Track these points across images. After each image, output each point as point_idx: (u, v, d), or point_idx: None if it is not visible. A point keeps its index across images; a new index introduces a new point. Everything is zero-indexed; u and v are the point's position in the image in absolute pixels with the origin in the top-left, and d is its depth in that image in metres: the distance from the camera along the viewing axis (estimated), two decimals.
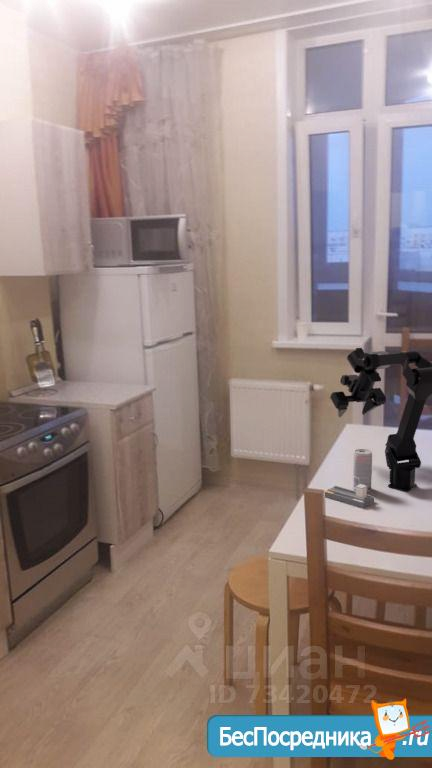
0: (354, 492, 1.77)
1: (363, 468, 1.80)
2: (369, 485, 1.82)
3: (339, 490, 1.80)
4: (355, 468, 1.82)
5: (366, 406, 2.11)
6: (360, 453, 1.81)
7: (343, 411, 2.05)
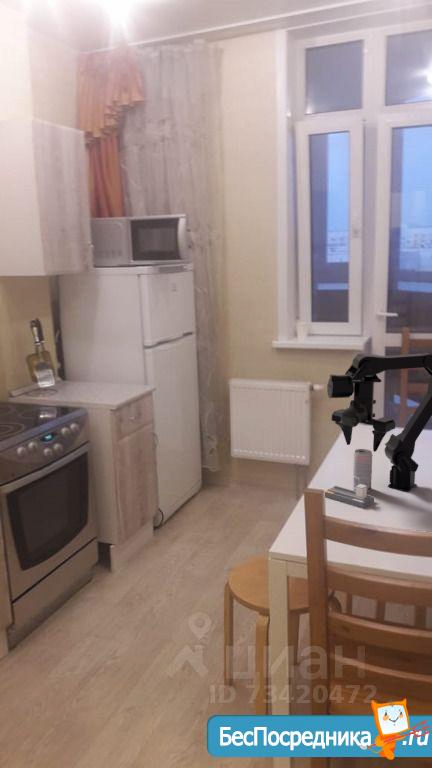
0: (354, 492, 1.77)
1: (363, 468, 1.80)
2: (369, 485, 1.82)
3: (339, 490, 1.80)
4: (355, 468, 1.82)
5: (348, 432, 1.85)
6: (360, 453, 1.81)
7: None
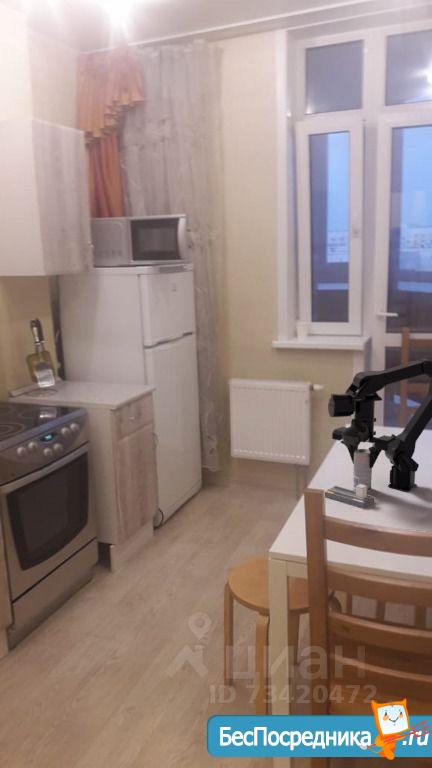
0: (354, 492, 1.77)
1: (363, 467, 1.80)
2: (369, 485, 1.82)
3: (339, 490, 1.80)
4: (355, 468, 1.82)
5: None
6: (360, 453, 1.81)
7: None
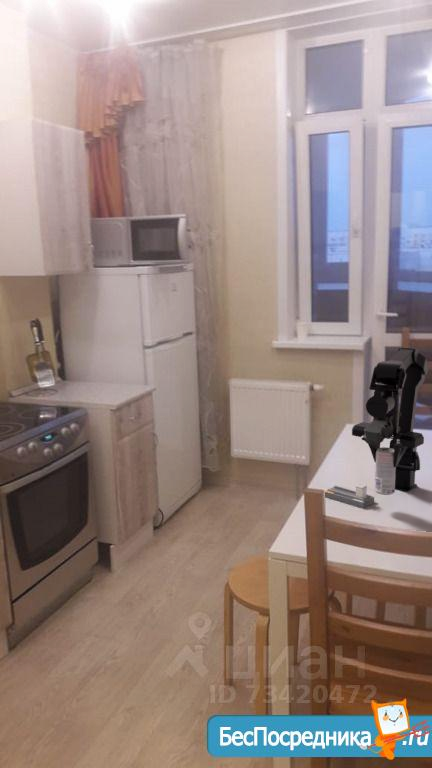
0: (354, 492, 1.77)
1: (387, 468, 1.64)
2: (392, 487, 1.66)
3: (339, 490, 1.80)
4: (377, 468, 1.66)
5: (376, 449, 1.68)
6: (383, 452, 1.65)
7: None
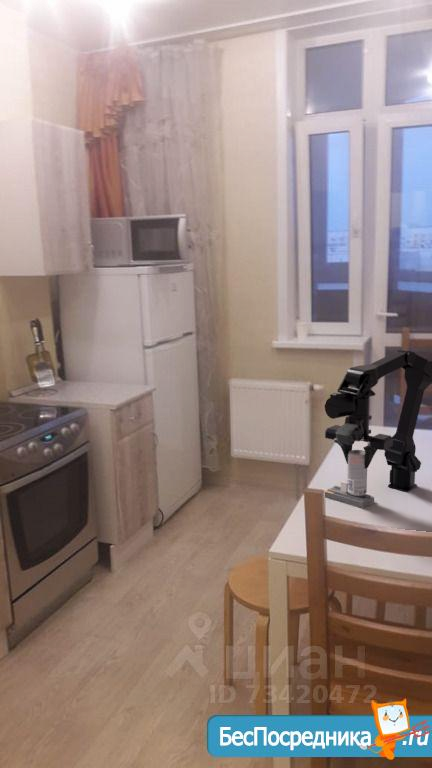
0: None
1: (358, 469, 1.71)
2: (364, 488, 1.72)
3: (339, 490, 1.80)
4: (349, 470, 1.72)
5: (348, 451, 1.74)
6: (354, 454, 1.71)
7: None
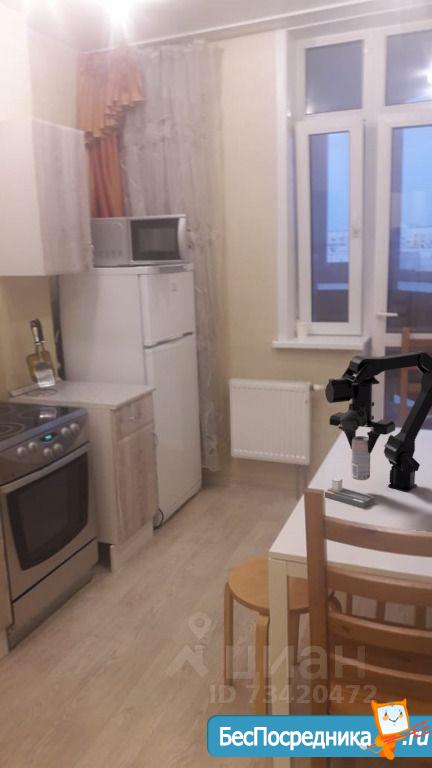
0: (354, 492, 1.77)
1: (362, 455, 1.77)
2: (368, 473, 1.79)
3: None
4: (353, 455, 1.79)
5: (352, 437, 1.81)
6: (358, 440, 1.78)
7: None
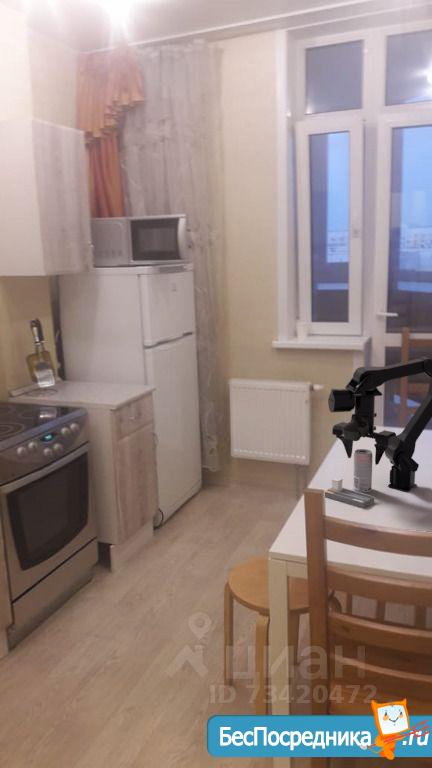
0: (354, 492, 1.77)
1: (363, 468, 1.80)
2: (369, 485, 1.81)
3: None
4: (355, 468, 1.81)
5: (349, 446, 1.85)
6: (360, 453, 1.80)
7: None
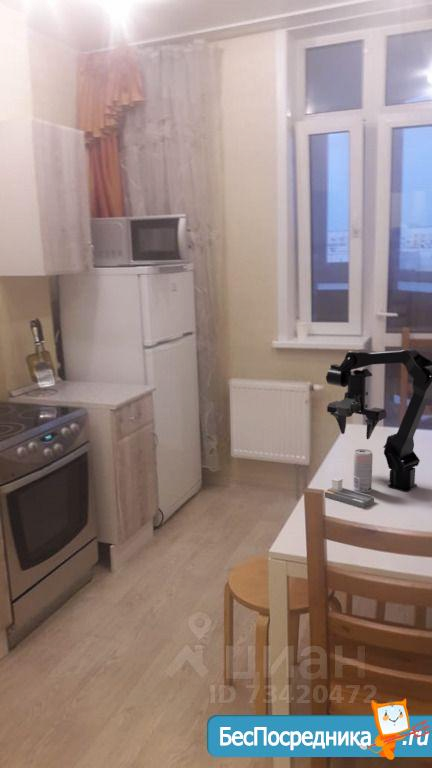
0: (354, 492, 1.77)
1: (363, 468, 1.80)
2: (369, 485, 1.81)
3: None
4: (355, 468, 1.81)
5: (343, 422, 1.99)
6: (360, 453, 1.81)
7: None
